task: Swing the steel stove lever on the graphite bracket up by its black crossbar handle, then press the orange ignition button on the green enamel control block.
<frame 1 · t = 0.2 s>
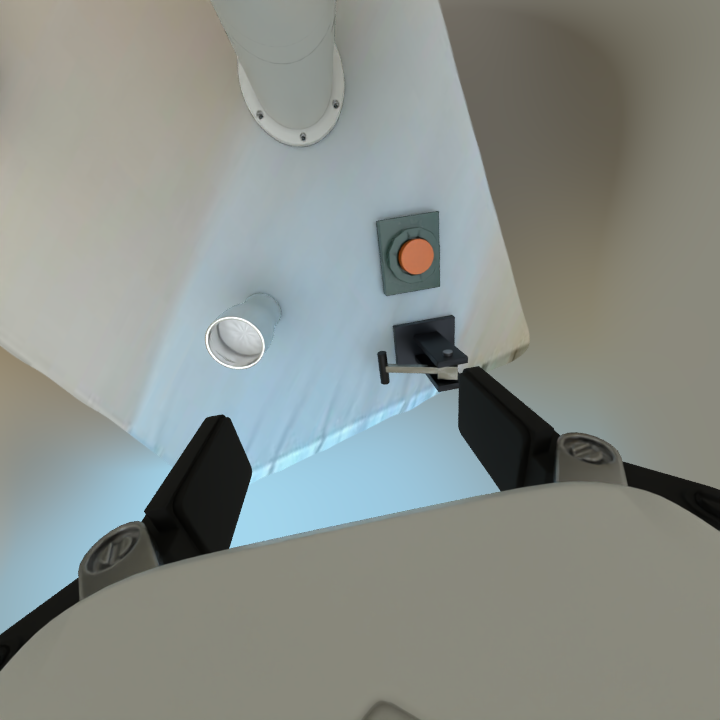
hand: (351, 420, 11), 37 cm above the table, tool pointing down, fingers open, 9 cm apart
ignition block: (407, 254, 44), on the table
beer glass: (262, 311, 45), on the table
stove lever: (416, 368, 42), point 9 cm above the table, hinge at -25.0°
lever bracket: (423, 343, 50), on the table
ignition button: (415, 256, 39), point 4 cm above the table, slide at 0.1 cm
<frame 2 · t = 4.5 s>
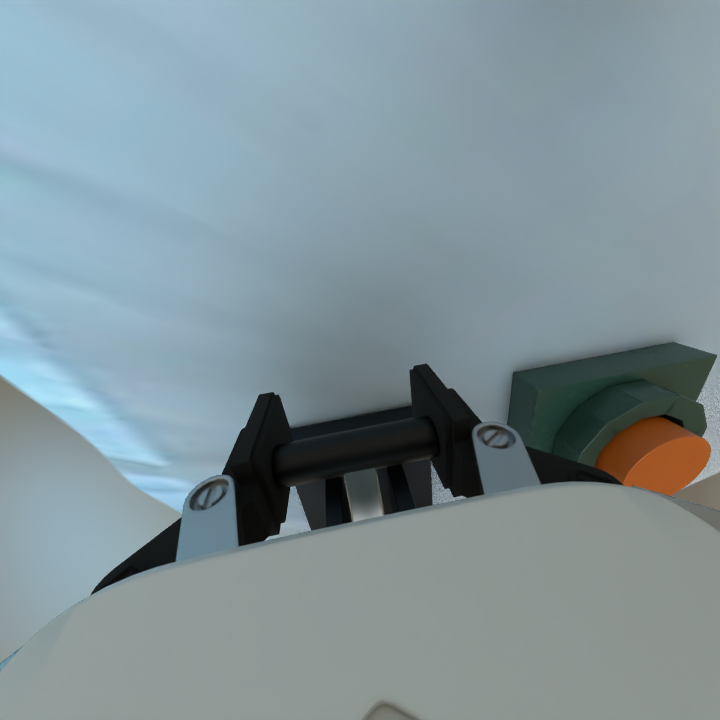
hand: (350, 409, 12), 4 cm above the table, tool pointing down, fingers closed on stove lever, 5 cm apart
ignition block: (580, 413, 19), on the table
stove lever: (383, 600, 9), point 9 cm above the table, hinge at -25.0°, touching gripper
lever bracket: (365, 477, 19), on the table
ignition button: (648, 460, 15), point 4 cm above the table, slide at 0.1 cm
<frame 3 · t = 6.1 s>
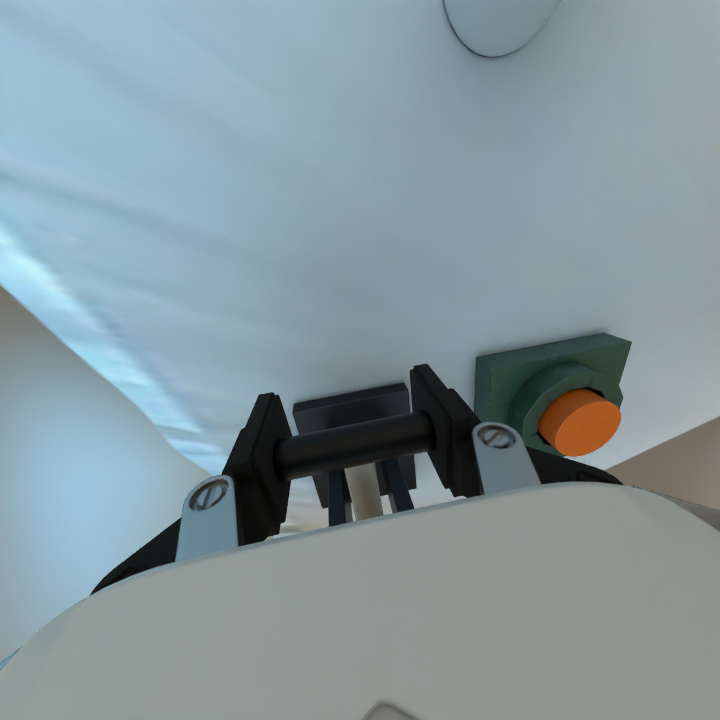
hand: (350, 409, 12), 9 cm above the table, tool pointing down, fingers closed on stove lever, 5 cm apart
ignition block: (534, 391, 24), on the table
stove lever: (374, 537, 12), point 11 cm above the table, hinge at -0.4°, touching gripper
lever bracket: (359, 445, 24), on the table
ignition button: (577, 422, 20), point 4 cm above the table, slide at 0.1 cm
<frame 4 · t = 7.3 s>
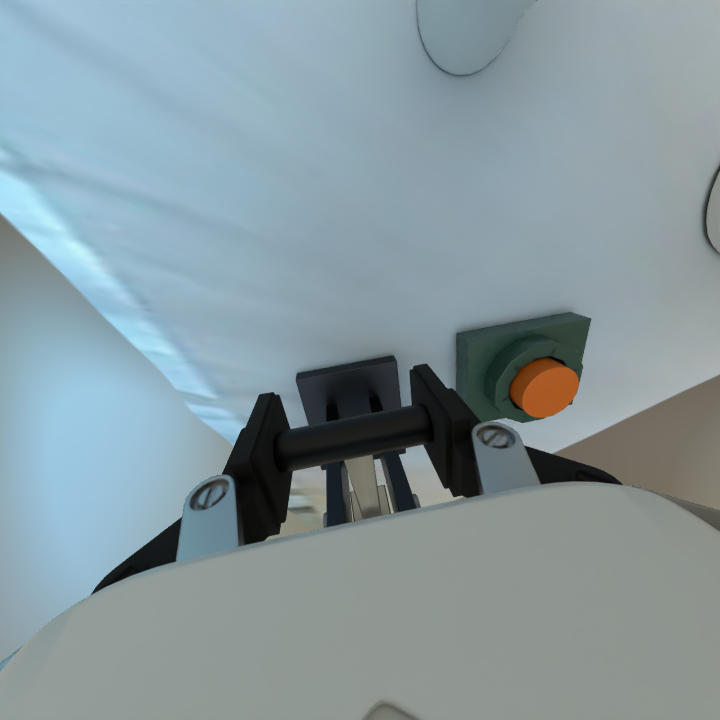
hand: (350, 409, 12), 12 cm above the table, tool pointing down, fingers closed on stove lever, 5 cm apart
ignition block: (509, 365, 27), on the table
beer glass: (464, 10, 16), on the table
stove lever: (366, 489, 14), point 13 cm above the table, hinge at 20.2°, touching gripper
lever bracket: (354, 412, 27), on the table
ignition button: (542, 388, 23), point 4 cm above the table, slide at 0.1 cm
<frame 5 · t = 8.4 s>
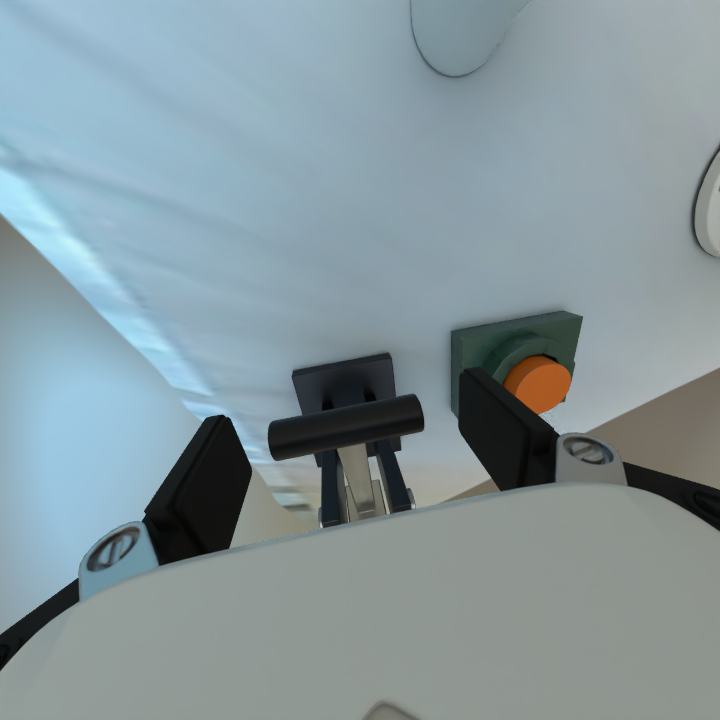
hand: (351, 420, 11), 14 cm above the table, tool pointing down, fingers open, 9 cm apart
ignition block: (503, 363, 27), on the table
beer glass: (457, 12, 16), on the table
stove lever: (360, 481, 14), point 13 cm above the table, hinge at 19.7°
lever bracket: (350, 410, 27), on the table
ignition button: (535, 385, 23), point 4 cm above the table, slide at 0.1 cm
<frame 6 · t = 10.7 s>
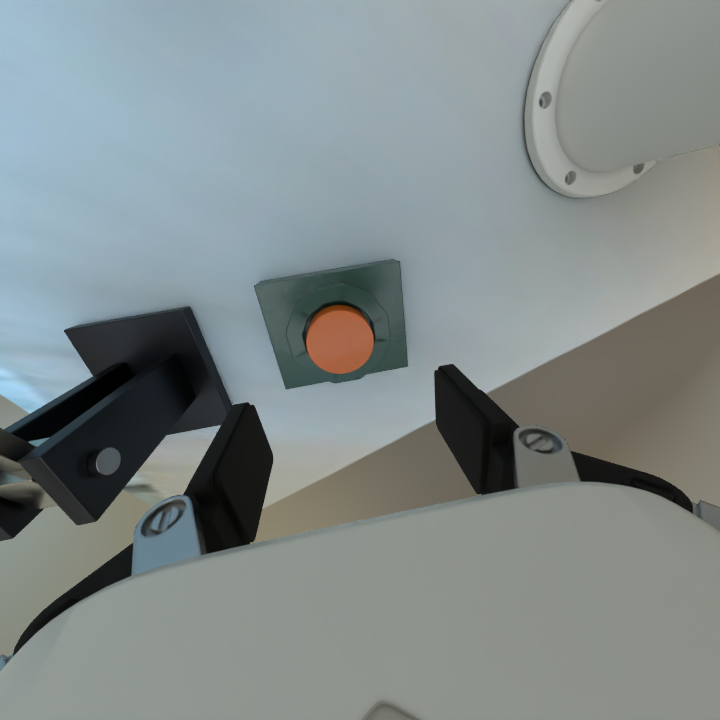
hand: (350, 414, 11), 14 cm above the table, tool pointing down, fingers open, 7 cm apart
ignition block: (337, 322, 24), on the table
lever bracket: (164, 375, 24), on the table
ignition button: (339, 339, 20), point 4 cm above the table, slide at 0.1 cm
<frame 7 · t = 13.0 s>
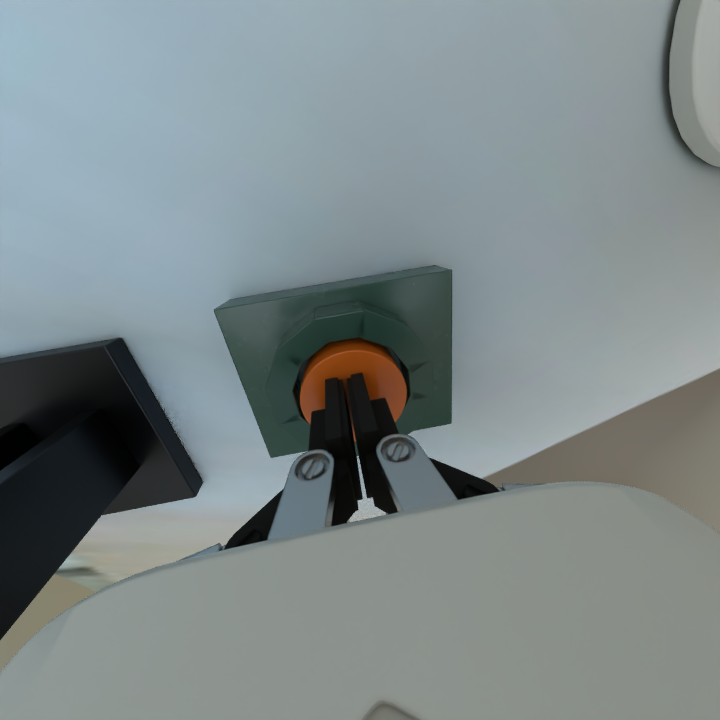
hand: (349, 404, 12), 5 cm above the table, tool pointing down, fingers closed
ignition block: (347, 358, 16), on the table
lever bracket: (93, 433, 16), on the table
ignition button: (352, 389, 13), point 4 cm above the table, slide at -0.7 cm, touching gripper
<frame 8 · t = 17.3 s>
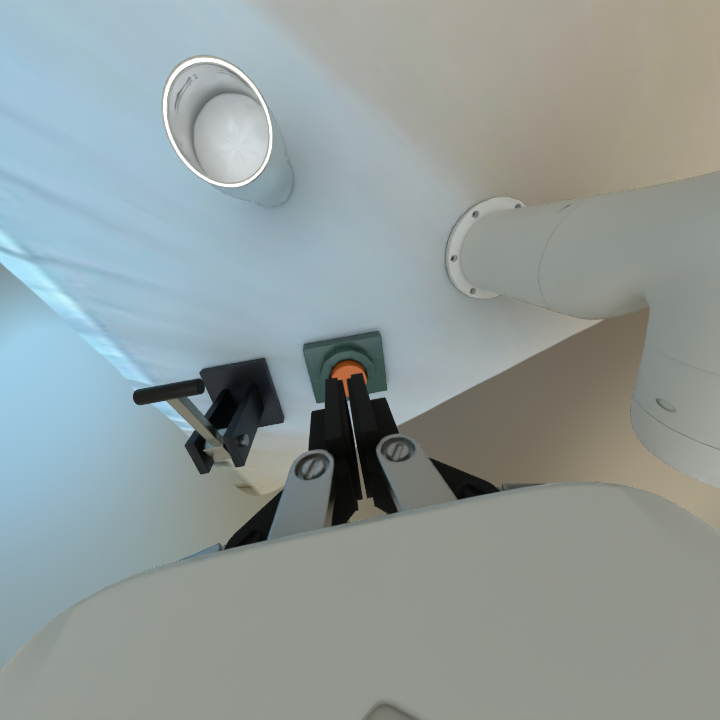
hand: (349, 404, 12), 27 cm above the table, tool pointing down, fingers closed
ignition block: (346, 364, 41), on the table
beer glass: (266, 177, 31), on the table
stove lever: (200, 423, 28), point 13 cm above the table, hinge at 19.7°
lever bracket: (246, 395, 41), on the table
ignition button: (348, 378, 37), point 4 cm above the table, slide at 0.1 cm
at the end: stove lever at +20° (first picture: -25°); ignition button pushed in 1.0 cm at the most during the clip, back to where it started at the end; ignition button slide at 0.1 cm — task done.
